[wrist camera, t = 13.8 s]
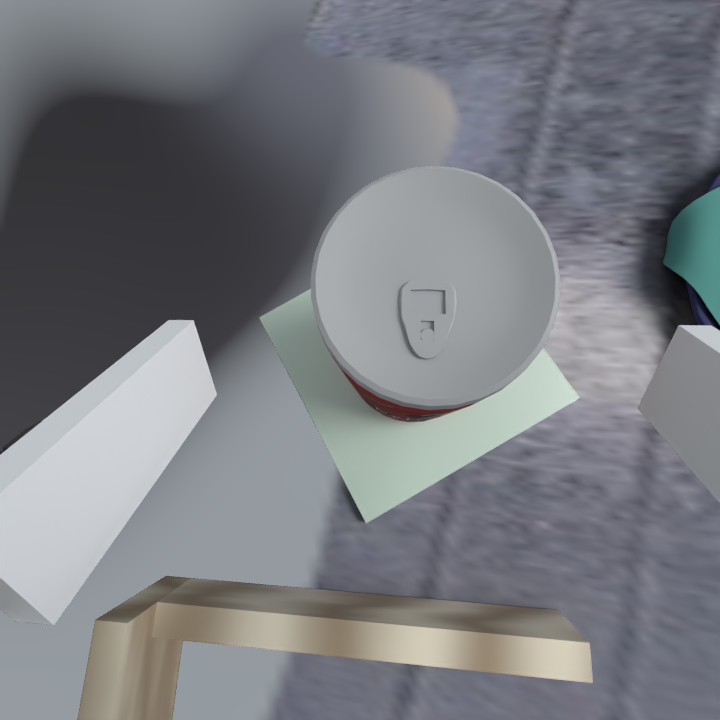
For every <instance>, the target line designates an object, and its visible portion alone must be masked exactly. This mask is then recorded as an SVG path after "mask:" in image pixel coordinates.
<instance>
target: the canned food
mask: <svg viewBox="0 0 720 720" xmlns="http://www.w3.org/2000/svg"><path fill="white" fill-rule="evenodd" d="M559 298H560V275H559V269H558V263H557V258H556V254H555V251H554V249H553V246H552V244H551V241H550V239H549V236H548V234H547V232H546V230H545V229H544V227H543V226H542V224H541V223H540V221H539V220H538V218H537V216H536V215H535V213H534V212H533V211H532V210H531V209H530V208H529V207H528V206H527V205H526V204H525V203H524V202H523V201H522V200H521V199H520V198H519V197H518V196H517V195H515V194H514V193H513V192H511V191H510V190H508V189H507V188H505V187H504V186H503V185H501V184H500V183H498V182H496V181H494V180H492V179H489V178H487V177H485V176H483V175H481V174H478V173H475V172H471V171H467V170H463V169H459V168H455V167H441V166H428V167H417V168H409V169H406V170H403V171H399V172H395V173H392V174H389V175H386V176H384V177H382V178H380V179H378V180H376V181H374V182H372V183H370V184H368V185H367V186H366V187H364V188H363V189H361V190H360V191H359V192H357V193H356V194H354V195H353V196H352V197H350V198H349V200H348V201H347V202H346V203H345V204H344V205H343V206H342V207H341V208H340V209H339V210H338V211H337V212H336V213H335V215H334V216H333V218H332V219H331V221H330V223H329V224H328V226H327V227H326V229H325V231H324V232H323V234H322V237H321V239H320V242H319V244H318V247H317V249H316V252H315V256H314V261H313V267H312V272H311V300H312V305H313V310H314V314H315V319H316V322H317V327H318V329H319V332H320V334H321V336H322V338H323V341H324V343H325V345H326V348H327V349H328V351H329V352H330V354H331V356H332V358H333V359H334V361H335V362H336V363H337V365H338V366H339V368H340V369H341V370H342V372H343V373H344V375H345V376H346V377H347V379H348V380H349V381H350V383H351V384H352V385H353V387H354V388H355V389H356V391H357V392H358V394H359V395H360V396H361V398H362V399H363V400H364V401H365V402H366V403H367V404H368V405H369V406H370V407H371V408H373V409H374V410H376V411H377V412H379V413H381V414H382V415H384V416H386V417H389V418H392V419H394V420H398V421H404V422H424V421H427V420H431V419H435V418H438V417H441V416H443V415H446V414H449V413H452V412H455V411H457V410H460V409H463V408H466V407H469V406H471V405H473V404H475V403H477V402H479V401H481V400H483V399H485V398H487V397H489V396H491V395H493V394H495V393H497V392H499V391H501V390H502V389H503V388H505V387H506V386H507V385H508V384H510V383H511V382H512V381H513V380H515V379H516V378H517V377H518V376H519V375H521V373H522V372H524V371H525V370H526V369H527V368H528V366H529V365H530V364H531V363H532V361H533V360H534V359H535V358H536V357H537V355H538V354H539V353H540V352H541V350H542V349H543V347H544V345H545V343H546V341H547V339H548V337H549V335H550V333H551V331H552V329H553V326H554V322H555V318H556V314H557V310H558V306H559Z"/></svg>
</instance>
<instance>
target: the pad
mask: <svg viewBox="0 0 720 720" xmlns="http://www.w3.org/2000/svg"><path fill="white" fill-rule="evenodd" d="M259 318H260V320H261V322H262V324H263V326H264V328H265V330H266V332H267V334H268V335H269V338H270V339H271V341H272V343H273V345H274V347H275V349H276V351H277V353H278V355H279V357H280V358H281V361H282V363H283V364H284V366H285V368H286V370H287V372H288V374H289V376H290V378H291V380H292V382H293V384H294V385H295V388H296V389H297V391H298V393H299V395H300V397H301V399H302V401H303V403H304V405H305V407H306V409H307V411H308V412H309V414H310V416H311V418H312V420H313V422H314V424H315V426H316V428H317V430H318V432H319V434H320V435H321V438H322V439H323V441H324V443H325V445H326V447H327V449H328V451H329V453H330V455H331V457H332V459H333V461H334V463H335V464H336V466H337V468H338V470H339V472H340V474H341V476H342V478H343V480H344V482H345V484H346V486H347V488H348V489H349V491H350V493H351V495H352V497H353V499H354V501H355V503H356V505H357V507H358V509H359V511H360V513H361V514H362V516H363V518H364V520H365V522H366V523H368V522H369V521H371V520H373V519H375V518H376V517H378V516H380V515H381V514H383V513H385V512H386V511H388V510H390V509H392V508H393V507H395V506H397V505H398V504H400V503H402V502H403V501H405V500H407V499H409V498H410V497H412V496H414V495H415V494H417V493H419V492H420V491H422V490H424V489H426V488H427V487H429V486H431V485H432V484H434V483H436V482H438V481H439V480H441V479H443V478H444V477H446V476H448V475H449V474H451V473H453V472H455V471H456V470H458V469H460V468H461V467H463V466H465V465H466V464H468V463H470V462H472V461H473V460H475V459H477V458H478V457H480V456H482V455H483V454H485V453H487V452H489V451H490V450H492V449H494V448H495V447H497V446H499V445H500V444H502V443H504V442H506V441H507V440H509V439H511V438H512V437H514V436H516V435H518V434H519V433H521V432H523V431H524V430H526V429H528V428H529V427H531V426H533V425H535V424H536V423H538V422H540V421H541V420H543V419H545V418H546V417H548V416H550V415H552V414H553V413H555V412H557V411H558V410H560V409H562V408H563V407H565V406H567V405H569V404H570V403H572V402H574V401H575V400H577V399H579V396H578V395H577V394H576V392H575V391H574V389H573V388H572V387H571V385H570V384H569V383H568V381H567V380H566V378H565V377H564V376H563V374H562V373H561V371H560V370H559V369H558V367H557V366H556V365H555V363H554V362H553V360H552V359H551V358H550V356H549V355H548V353H547V352H546V351H545V349H544V348H543V349H542V350H541V352H540V353H539V354H538V355H537V357H536V358H535V359H534V360H533V361H532V363H531V364H530V365H529V366H528V368H527V369H526V370H525V371H524V372H522V373H521V375H519V376H518V377H517V378H516V379H515V380H513V381H512V382H511V383H510V384H508V385H507V386H506V387H505V388H503V389H502V390H501V391H499V392H497V393H495V394H493V395H491V396H489V397H487V398H485V399H483V400H481V401H479V402H477V403H475V404H473V405H471V406H469V407H466V408H463V409H460V410H457V411H455V412H452V413H449V414H446V415H443V416H441V417H438V418H435V419H431V420H427V421H424V422H404V421H398V420H394V419H392V418H389V417H386V416H384V415H382V414H381V413H379V412H377V411H376V410H374V409H373V408H371V407H370V406H369V405H368V404H367V403H366V402H365V401H364V400H363V399H362V398H361V396H360V395H359V394H358V392H357V391H356V389H355V388H354V387H353V385H352V384H351V383H350V381H349V380H348V379H347V377H346V376H345V375H344V373H343V372H342V370H341V369H340V368H339V366H338V365H337V363H336V362H335V361H334V359H333V358H332V356H331V354H330V352H329V351H328V349H327V348H326V345H325V343H324V341H323V338H322V336H321V334H320V332H319V329H318V327H317V322H316V319H315V314H314V310H313V305H312V300H311V289H310V290H308V291H306V292H304V293H302V294H301V295H299V296H297V297H295V298H294V299H292V300H290V301H288V302H287V303H284V304H283V305H281V306H279V307H277V308H276V309H274V310H272V311H270V312H269V313H267V314H265V315H263V316H261V317H259Z"/></svg>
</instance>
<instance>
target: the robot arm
mask: <svg viewBox="0 0 720 720" xmlns="http://www.w3.org/2000/svg"><path fill="white" fill-rule="evenodd" d="M216 396H217V393H216V390H215V386H214V383H213V380H212V377H211V374H210V371H209V368H208V365H207V361H206V358H205V355H204V352H203V349H202V346H201V342H200V339H199V336H198V333H197V330H196V327H195V324H194V321H193V320H168V321H167V322H166V323H165V324H163V325H162V326H161V327H160V328H158V329H157V330H156V331H155V332H153V333H152V334H151V335H150V336H148V337H147V338H146V339H145V340H143V341H142V342H141V343H140V344H138V345H137V346H136V347H135V348H133V349H132V350H131V351H130V352H128V353H127V354H126V355H125V356H123V357H122V358H121V359H120V360H118V361H117V362H116V363H114V364H113V365H112V366H111V367H110V368H108V369H107V370H106V371H105V372H103V373H102V374H101V375H99V376H98V377H97V378H96V379H95V380H93V381H92V382H91V383H89V384H88V385H87V386H86V387H85V388H83V389H82V390H81V391H79V392H78V393H77V394H76V395H74V396H73V397H72V398H71V399H70V400H68V401H67V402H66V403H65V404H63V405H62V406H61V407H59V408H58V409H57V410H56V411H54V412H53V413H52V414H51V415H49V416H48V417H47V418H46V419H44V420H42V421H40V422H38V423H37V424H35V425H33V426H31V427H29V428H27V429H26V430H25V431H24V432H22V433H21V434H20V435H18V436H17V437H16V438H14V439H13V440H12V441H11V442H9V443H8V444H7V445H6V446H4V447H3V451H2V452H0V609H1V610H2V611H3V612H4V613H6V614H7V615H8V616H9V617H11V618H12V619H13V620H14V621H17V622H26V623H35V624H44V625H55V624H56V622H57V621H58V619H59V618H60V616H61V615H62V614H63V612H64V610H65V609H66V608H67V607H68V605H69V604H70V602H71V601H72V599H73V598H74V597H75V595H76V594H77V592H78V591H79V590H80V588H81V587H82V585H83V584H84V582H85V581H86V580H87V578H88V577H89V575H90V574H91V572H92V571H93V570H94V568H95V567H96V565H97V564H98V562H99V561H100V560H101V558H102V557H103V556H104V554H105V553H106V551H107V550H108V549H109V547H110V546H111V544H112V543H113V541H114V540H115V539H116V537H117V536H118V534H119V533H120V531H121V530H122V529H123V527H124V526H125V524H126V523H127V522H128V520H129V519H130V517H131V516H132V514H133V513H134V512H135V510H136V509H137V507H138V506H139V505H140V503H141V502H142V500H143V499H144V497H145V496H146V495H147V493H148V492H149V490H150V489H151V488H152V486H153V485H154V483H155V482H156V481H157V479H158V478H159V476H160V475H161V473H162V472H163V471H164V469H165V468H166V466H167V465H168V464H169V462H170V461H171V459H172V458H173V456H174V455H175V454H176V452H177V451H178V449H179V448H180V447H181V445H182V444H183V442H184V441H185V439H186V438H187V437H188V435H189V434H190V432H191V431H192V430H193V428H194V427H195V425H196V424H197V423H198V421H199V420H200V418H201V417H202V415H203V414H204V412H205V411H206V410H207V408H208V407H209V405H210V404H211V403H212V401H213V400H214V398H215V397H216ZM638 409H639V411H640V412H641V413H642V414H643V415H644V416H645V417H646V419H647V420H648V421H649V422H650V423H651V424H652V426H653V427H654V428H655V429H656V430H657V431H658V432H659V434H660V435H661V436H662V437H663V438H664V439H665V441H666V442H667V443H668V444H669V445H670V446H671V447H672V449H673V450H674V451H675V452H676V453H677V454H678V455H679V457H680V458H681V459H682V460H683V461H684V462H685V464H686V465H687V466H688V467H689V468H690V469H691V470H692V472H693V473H694V474H695V475H696V476H697V477H698V479H699V480H700V481H701V482H702V483H703V484H704V485H705V487H706V488H707V489H708V490H709V491H710V492H711V493H712V495H713V496H714V497H715V498H716V499H717V500H718V502H719V503H720V330H718V329H716V328H715V327H713V326H708V325H679V326H678V328H677V330H676V332H675V334H674V336H673V338H672V340H671V342H670V344H669V346H668V348H667V350H666V352H665V354H664V356H663V358H662V360H661V362H660V364H659V366H658V368H657V370H656V372H655V374H654V376H653V378H652V380H651V382H650V384H649V386H648V388H647V390H646V392H645V394H644V396H643V398H642V400H641V402H640V404H639V406H638Z"/></svg>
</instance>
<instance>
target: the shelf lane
mask: <svg viewBox="0 0 720 720" xmlns="http://www.w3.org/2000/svg"><path fill="white" fill-rule="evenodd" d="M183 641H194V642H204V643H213V644H222V645H232V646H241V647H251V648H260V649H270V650H280V651H289V652H299V653H308V654H318V655H328V656H337V657H347V658H357V659H366V660H376V661H386V662H395V663H405V664H415V665H424V666H434V667H444V668H453V669H463V670H472V671H482V672H492V673H501V674H511V675H521V676H530V677H540V678H550V679H559V680H569V681H579V682H588V683H593V678H592V665H591V652H590V643H589V642H588V641H587V640H586V638H585V637H584V636H583V635H582V634H581V633H580V632H579V631H578V630H577V629H576V628H575V627H574V626H573V625H572V624H571V623H570V622H569V621H568V620H567V619H566V618H565V617H564V616H563V615H562V614H561V613H560V612H559V611H558V610H551V609H540V608H528V607H517V606H505V605H494V604H482V603H471V602H459V601H448V600H437V599H425V598H414V597H402V596H391V595H379V594H368V593H356V592H345V591H333V590H322V589H310V588H299V587H286V586H275V585H263V584H252V583H241V582H230V581H218V580H206V579H195V578H182V577H172V576H165V577H164V578H162V579H160V580H159V581H157V582H156V583H154V584H152V585H151V586H149V587H147V588H146V589H144V590H143V591H141V592H139V593H138V594H136V595H135V596H133V597H131V598H130V599H128V600H127V601H125V602H123V603H122V604H120V605H119V606H117V607H115V608H114V609H112V610H111V611H109V612H107V613H106V614H104V615H103V616H101V617H99V618H98V619H96V620H95V624H94V630H93V636H92V641H91V647H90V653H89V658H88V664H87V669H86V675H85V681H84V686H83V692H82V697H81V703H80V709H79V714H78V720H172V717H173V710H174V703H175V702H174V701H175V694H176V687H177V679H178V672H179V664H180V657H181V649H182V642H183Z"/></svg>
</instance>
